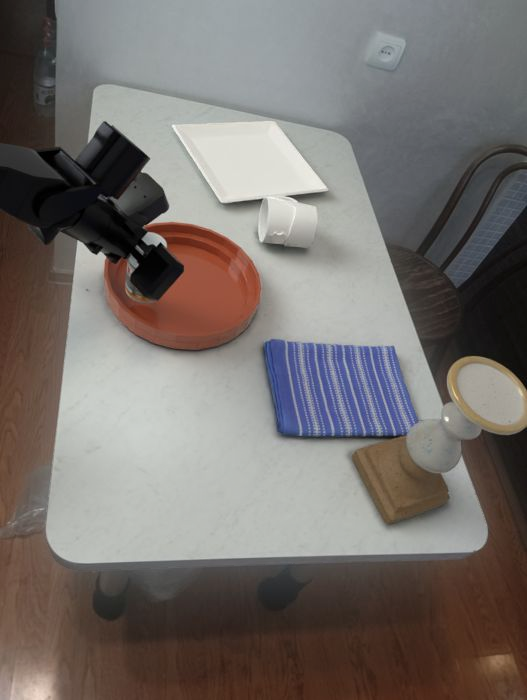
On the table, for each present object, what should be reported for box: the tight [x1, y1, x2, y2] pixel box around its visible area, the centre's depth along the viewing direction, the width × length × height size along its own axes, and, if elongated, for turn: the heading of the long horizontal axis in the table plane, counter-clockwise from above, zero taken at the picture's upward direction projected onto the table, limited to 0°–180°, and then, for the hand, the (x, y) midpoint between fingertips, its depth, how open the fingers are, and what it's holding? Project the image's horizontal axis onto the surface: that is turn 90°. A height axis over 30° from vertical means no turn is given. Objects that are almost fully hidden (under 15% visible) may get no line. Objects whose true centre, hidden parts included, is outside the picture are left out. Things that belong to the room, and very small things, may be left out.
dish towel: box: [263, 337, 419, 438], centre depth 85 cm, size 17×24×3 cm
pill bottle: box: [125, 232, 167, 303], centre depth 79 cm, size 6×6×10 cm
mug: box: [257, 196, 319, 249], centre depth 102 cm, size 12×9×8 cm
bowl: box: [103, 221, 263, 351], centre depth 89 cm, size 25×25×4 cm
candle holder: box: [351, 355, 527, 525], centre depth 69 cm, size 11×11×24 cm
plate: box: [171, 120, 330, 204], centre depth 116 cm, size 26×26×2 cm
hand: (155, 257), depth 79 cm, fingers closed on pill bottle, 6 cm apart
